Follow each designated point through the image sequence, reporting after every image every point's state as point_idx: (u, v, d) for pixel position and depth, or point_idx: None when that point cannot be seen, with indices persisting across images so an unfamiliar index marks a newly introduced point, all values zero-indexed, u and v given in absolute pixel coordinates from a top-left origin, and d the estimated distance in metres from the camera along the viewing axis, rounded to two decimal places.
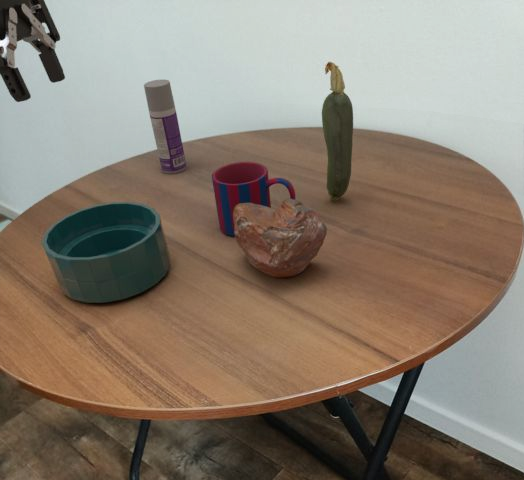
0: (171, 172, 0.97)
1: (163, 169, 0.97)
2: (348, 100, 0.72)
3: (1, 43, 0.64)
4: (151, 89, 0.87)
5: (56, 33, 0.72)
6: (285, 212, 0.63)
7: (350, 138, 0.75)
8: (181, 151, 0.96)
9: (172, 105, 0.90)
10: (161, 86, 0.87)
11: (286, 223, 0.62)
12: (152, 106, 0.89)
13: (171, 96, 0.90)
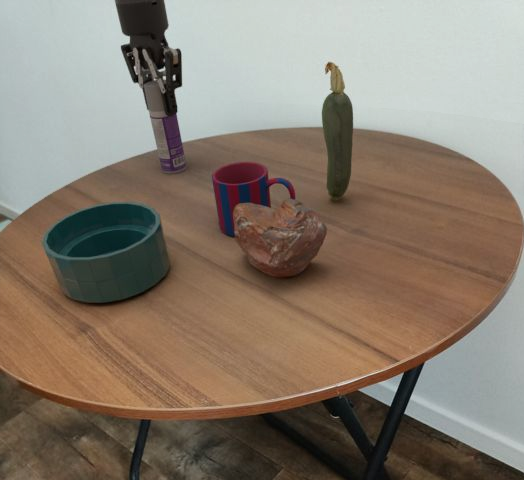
0: (171, 172, 0.97)
1: (163, 169, 0.97)
2: (348, 100, 0.72)
3: None
4: (151, 89, 0.87)
5: None
6: (285, 212, 0.63)
7: (350, 138, 0.75)
8: (181, 151, 0.96)
9: None
10: None
11: (286, 223, 0.62)
12: (152, 106, 0.89)
13: None
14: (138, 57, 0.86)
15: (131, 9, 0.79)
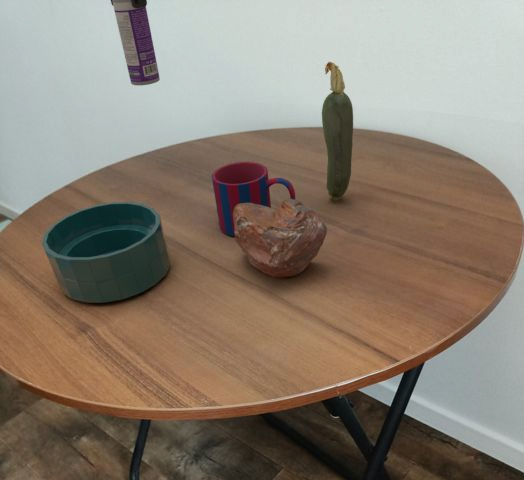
0: (141, 83, 0.82)
1: (131, 81, 0.83)
2: (348, 100, 0.72)
3: None
4: None
5: None
6: (285, 212, 0.63)
7: (350, 138, 0.75)
8: (153, 57, 0.81)
9: None
10: None
11: (286, 223, 0.62)
12: None
13: None
14: None
15: None
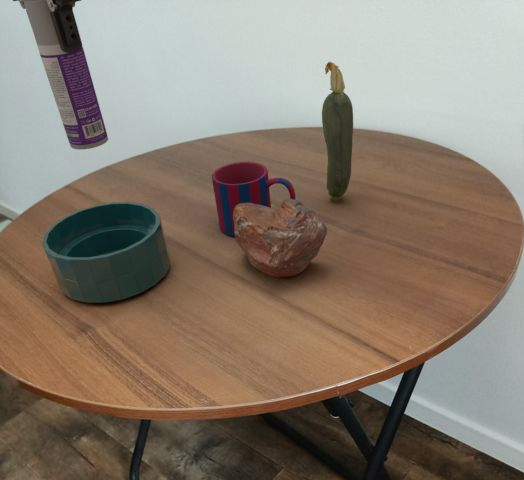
0: (82, 147, 0.62)
1: (70, 143, 0.63)
2: (348, 100, 0.72)
3: None
4: (34, 6, 0.53)
5: None
6: (285, 212, 0.63)
7: (350, 138, 0.75)
8: (96, 113, 0.61)
9: None
10: None
11: (286, 223, 0.62)
12: (39, 36, 0.55)
13: None
14: None
15: None
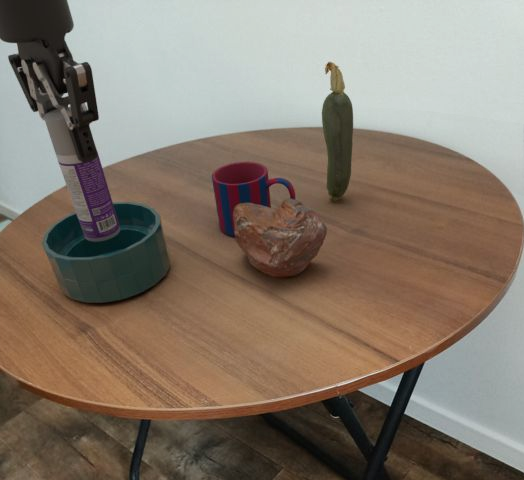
0: (96, 239, 0.66)
1: (84, 235, 0.67)
2: (348, 100, 0.72)
3: None
4: (53, 123, 0.57)
5: None
6: (285, 212, 0.63)
7: (350, 138, 0.75)
8: (109, 210, 0.65)
9: None
10: None
11: (286, 223, 0.62)
12: (58, 148, 0.59)
13: None
14: (30, 75, 0.55)
15: None
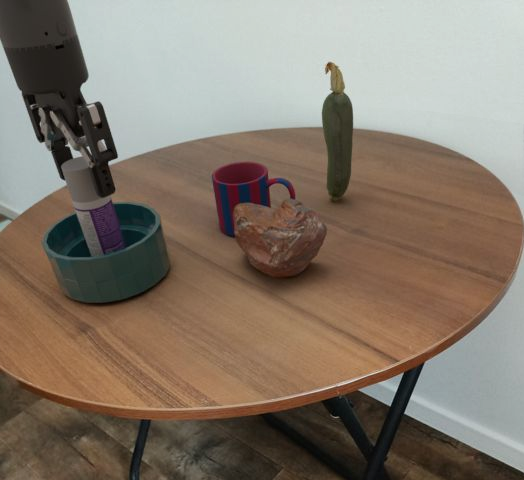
0: None
1: None
2: (348, 100, 0.72)
3: None
4: (70, 174, 0.61)
5: None
6: (285, 212, 0.63)
7: (350, 138, 0.75)
8: (121, 249, 0.69)
9: None
10: (85, 169, 0.61)
11: (286, 223, 0.62)
12: (74, 195, 0.63)
13: None
14: (46, 121, 0.58)
15: (23, 56, 0.51)
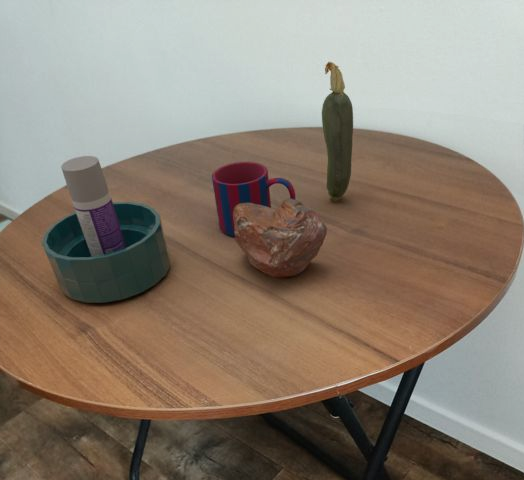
0: None
1: None
2: (348, 100, 0.72)
3: None
4: (70, 174, 0.61)
5: None
6: (285, 212, 0.63)
7: (350, 138, 0.75)
8: (121, 249, 0.69)
9: (104, 192, 0.64)
10: (85, 169, 0.61)
11: (286, 223, 0.62)
12: (74, 195, 0.63)
13: (102, 180, 0.63)
14: None
15: None
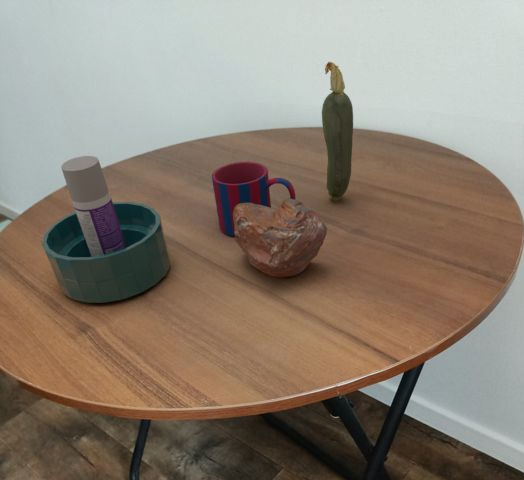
0: None
1: None
2: (348, 100, 0.72)
3: None
4: (70, 174, 0.61)
5: None
6: (285, 212, 0.63)
7: (350, 138, 0.75)
8: (121, 249, 0.69)
9: (104, 192, 0.64)
10: (85, 169, 0.61)
11: (286, 223, 0.62)
12: (74, 195, 0.63)
13: (102, 180, 0.63)
14: None
15: None
